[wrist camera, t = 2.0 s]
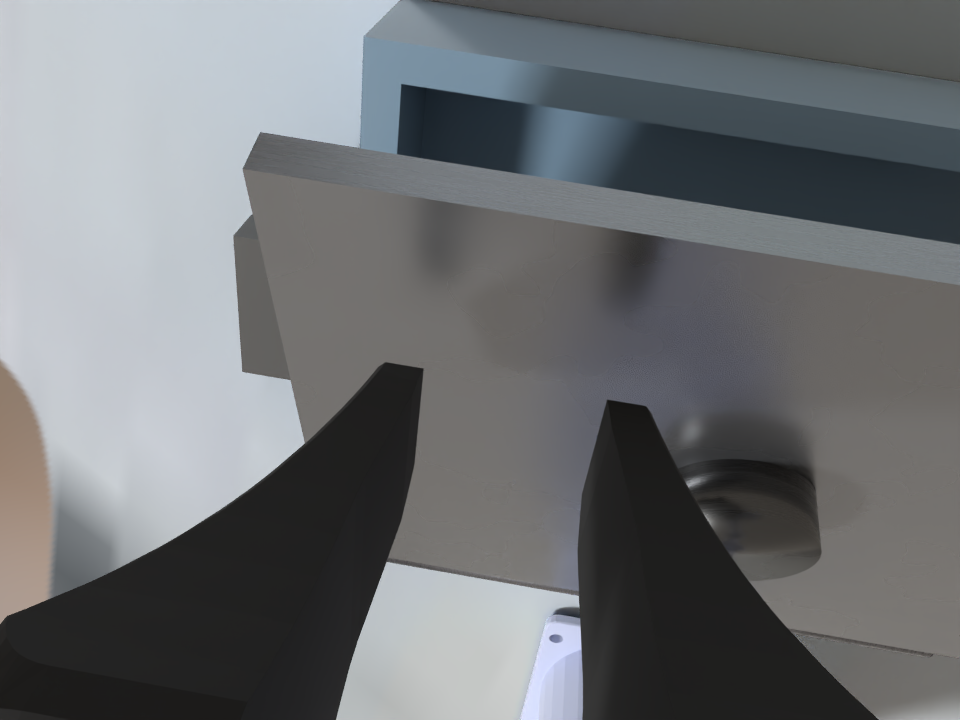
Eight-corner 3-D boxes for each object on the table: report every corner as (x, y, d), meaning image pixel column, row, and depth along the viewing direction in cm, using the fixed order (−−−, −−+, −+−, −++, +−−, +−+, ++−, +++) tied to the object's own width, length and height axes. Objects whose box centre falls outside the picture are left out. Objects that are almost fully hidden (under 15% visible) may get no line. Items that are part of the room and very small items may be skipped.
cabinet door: (963, 640, 23) (976, 713, 22) (337, 530, 24) (319, 595, 23) (1564, 342, 11) (1662, 468, 10) (260, 132, 12) (213, 230, 11)
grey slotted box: (1004, 547, 26) (1061, 652, 23) (290, 424, 27) (249, 510, 24) (1305, 135, 18) (1458, 206, 15) (280, -23, 19) (214, 13, 16)
